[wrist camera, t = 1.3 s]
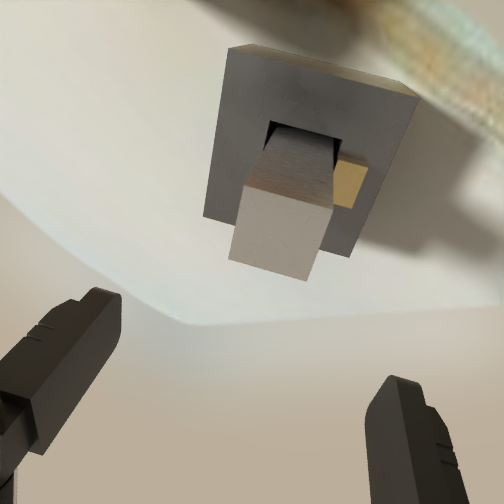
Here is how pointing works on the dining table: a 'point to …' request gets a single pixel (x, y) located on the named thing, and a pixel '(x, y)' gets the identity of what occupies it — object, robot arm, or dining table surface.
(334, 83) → the base
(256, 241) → the column
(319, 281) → the dining table surface
